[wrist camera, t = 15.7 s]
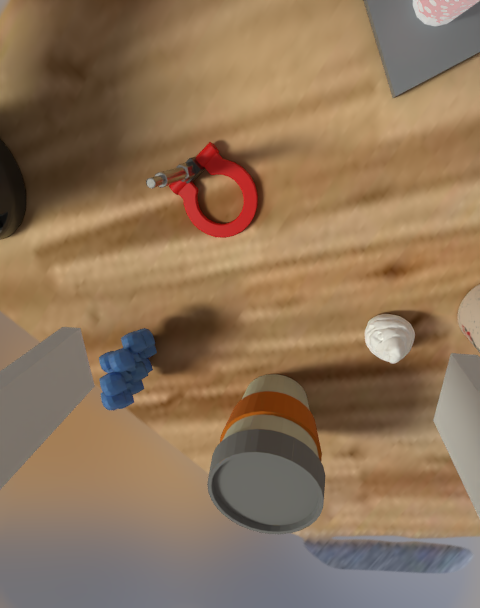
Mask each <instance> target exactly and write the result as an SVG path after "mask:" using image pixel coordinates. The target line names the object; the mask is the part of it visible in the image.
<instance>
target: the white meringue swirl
mask: <svg viewBox="0 0 480 608" xmlns="http://www.w3.org/2000/svg"><path fill="white" fill-rule="evenodd" d="M414 338H415V332H414V329H413V327H412V325H411V324H410V323H409V322H408V321H406V320H405V319H404V318H402V317H400V316H397V315H392V314H381V315H377V316H375V317H374V318H372V319H371V320H369V322H368V324H367V327H366V329H365V342H366V345H367V346H368V348H369V349H370V351H371V352H372V353H373V354H374V355H375V356H377V357H379V358H380V359H382V360H384V361H387V362H390V363H397V362H398V361H400V360H401V359H403V358H404V357H405V356H406V355H407V354H408V353H409V351H410V350H411V347H412V345H413V342H414Z"/></svg>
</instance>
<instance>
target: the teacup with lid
mask: <svg viewBox="0 0 480 608" xmlns="http://www.w3.org/2000/svg"><path fill="white" fill-rule="evenodd" d="M458 324H459V327H460V329H461V331H462V332H463V334H464V335H465V336H466V337H467V338H468V340H469V341H470V342H471V343H472V344H473V345H474V346H475V348H476V349H477V350H478V351H479V352H480V284H479V285H477V286H476V287H474V288H473V289H472V290H471V291H470V292H469V293H468V294H467V295H466V296H465V297H464V299H463V300H462V302H461V304H460V307H459V310H458Z"/></svg>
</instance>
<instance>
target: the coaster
mask: <svg viewBox="0 0 480 608" xmlns="http://www.w3.org/2000/svg"><path fill="white" fill-rule="evenodd" d="M364 4H365V7H366V10H367V14H368V17H369V20H370V24H371V27H372V30H373V34H374V37H375V40H376V44H377V47H378V50H379V54H380V57H381V60H382V64H383V67H384V70H385V74H386V77H387V80H388V84H389V87H390V90H391V94H392V97H393V98H394V97H396V96H398V95H400V94H402V93H404V92H405V91H407V90H409V89H411V88H413V87H415V86H417V85H419V84H421V83H423V82H424V81H426V80H428V79H430V78H432V77H434V76H436V75H438V74H440V73H442V72H443V71H445V70H447V69H449V68H451V67H453V66H455V65H457V64H459V63H460V62H462V61H464V60H466V59H468V58H470V57H472V56H474V55H476V54H478V53H479V52H480V1H479V2H477V3H476V4H475V5H473V6H472V7H470V8H469V9H468V10H466V11H465V12H463V13H462V14H461V15H459V16H458V17H456V18H455V19H453V20H452V21H451V22H449V23H448V24H444V25H440V26H431V25H427V24H424V23H423V22H422V21H421V20H420V19H419V18H418V17H417V16H416V13H415V10H414V8H413V0H364Z"/></svg>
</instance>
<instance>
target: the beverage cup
mask: <svg viewBox="0 0 480 608" xmlns="http://www.w3.org/2000/svg"><path fill="white" fill-rule="evenodd" d="M479 1H480V0H413V8H414V10H415V13H416V16H417V17H418V18H419V19H420V20H421V21H422V22H423V23H424V24H427V25H431V26H440V25H444V24H448V23H449V22H451V21H452V20H453V19H455V18H456V17H458V16H459V15H461V14H462V13H463V12H465V11H466V10H468V9H469V8H470V7H472V6H473V5H475V4H476V3H477V2H479Z"/></svg>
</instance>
